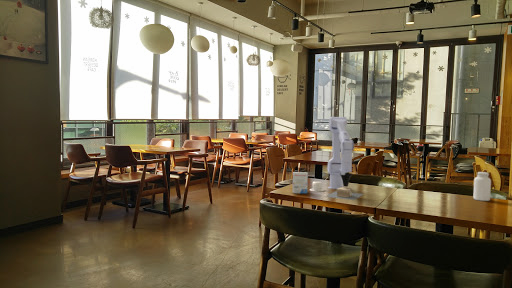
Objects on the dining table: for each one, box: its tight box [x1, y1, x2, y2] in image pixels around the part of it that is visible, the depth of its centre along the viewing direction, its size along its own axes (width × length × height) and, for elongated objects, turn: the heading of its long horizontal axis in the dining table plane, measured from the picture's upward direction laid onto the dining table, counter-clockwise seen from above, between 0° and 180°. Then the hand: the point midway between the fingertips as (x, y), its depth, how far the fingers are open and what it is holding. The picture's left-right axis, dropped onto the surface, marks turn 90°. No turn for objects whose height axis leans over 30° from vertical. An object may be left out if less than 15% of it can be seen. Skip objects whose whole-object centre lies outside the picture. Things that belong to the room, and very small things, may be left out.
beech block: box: [336, 186, 352, 197], centre depth 214 cm, size 4×6×7 cm
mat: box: [324, 190, 364, 201], centre depth 216 cm, size 20×16×1 cm
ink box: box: [292, 171, 309, 195], centre depth 223 cm, size 9×5×12 cm, turn 84°
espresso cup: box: [309, 181, 325, 192], centre depth 231 cm, size 9×9×5 cm
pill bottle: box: [472, 171, 492, 202], centre depth 212 cm, size 8×8×15 cm
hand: (345, 186), depth 216 cm, fingers closed
